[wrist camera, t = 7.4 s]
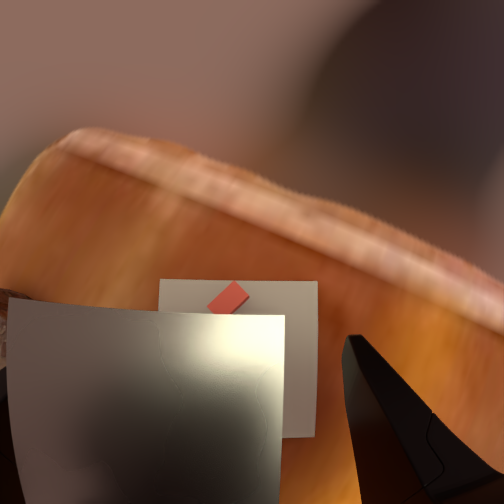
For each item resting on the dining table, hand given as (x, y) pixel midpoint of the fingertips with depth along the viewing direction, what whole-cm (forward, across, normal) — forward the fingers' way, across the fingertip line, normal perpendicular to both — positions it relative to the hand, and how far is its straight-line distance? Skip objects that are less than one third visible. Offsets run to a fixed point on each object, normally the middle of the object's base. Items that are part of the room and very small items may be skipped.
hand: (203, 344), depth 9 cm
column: (+4, 0, +6) cm, 7 cm away
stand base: (+7, 0, +9) cm, 12 cm away
